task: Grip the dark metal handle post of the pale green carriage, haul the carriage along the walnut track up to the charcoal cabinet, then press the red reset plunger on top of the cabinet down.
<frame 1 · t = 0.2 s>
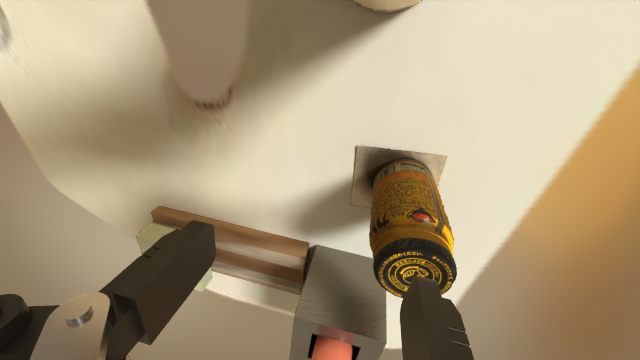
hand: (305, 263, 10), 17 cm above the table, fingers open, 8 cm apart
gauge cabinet: (344, 276, 35), on the table
reset plunger: (332, 352, 27), point 10 cm above the table, slide at 0.0 cm
condiment: (394, 180, 27), on the table
rail track: (233, 247, 37), on the table
carriage: (157, 279, 32), point 8 cm above the table, slide at 0.0 cm
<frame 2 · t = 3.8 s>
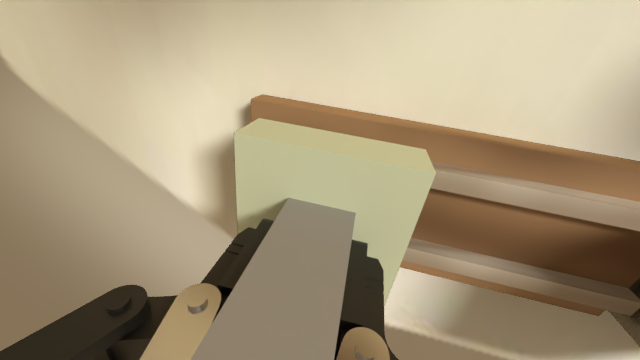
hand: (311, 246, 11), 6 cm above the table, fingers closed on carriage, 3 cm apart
rail track: (430, 199, 16), on the table
carriage: (305, 268, 10), point 8 cm above the table, slide at 0.0 cm, touching gripper
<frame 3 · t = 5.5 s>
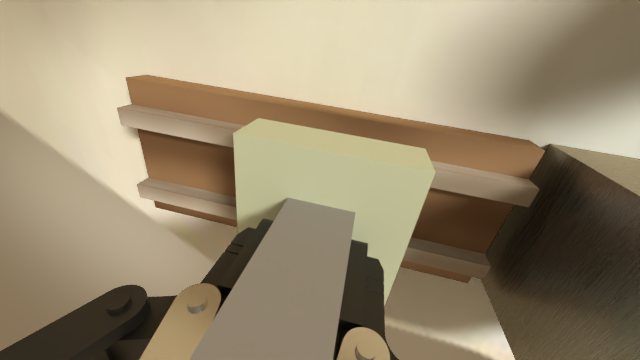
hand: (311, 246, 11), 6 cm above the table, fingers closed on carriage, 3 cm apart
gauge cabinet: (592, 232, 15), on the table
rail track: (311, 174, 17), on the table
carriage: (304, 268, 10), point 8 cm above the table, slide at 7.6 cm, touching gripper
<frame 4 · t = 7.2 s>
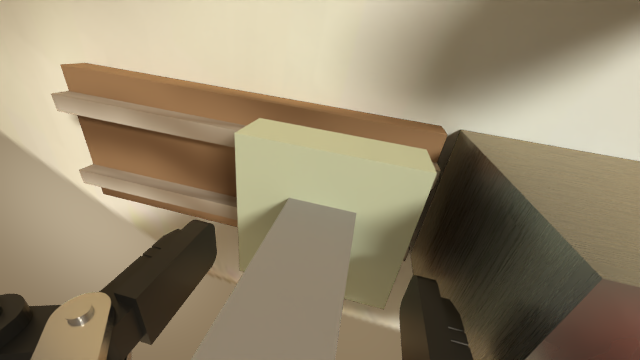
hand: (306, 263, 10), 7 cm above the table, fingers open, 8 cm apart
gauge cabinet: (510, 217, 15), on the table
rail track: (248, 161, 17), on the table
carriage: (305, 268, 10), point 8 cm above the table, slide at 12.0 cm
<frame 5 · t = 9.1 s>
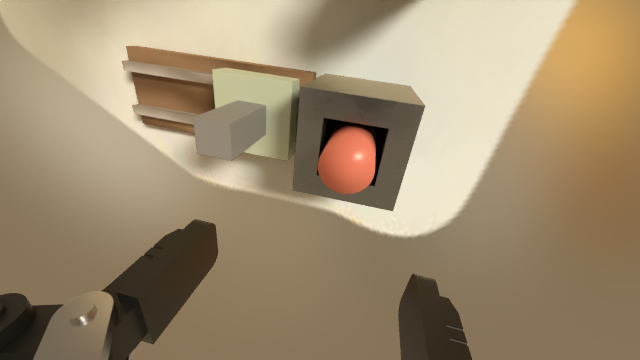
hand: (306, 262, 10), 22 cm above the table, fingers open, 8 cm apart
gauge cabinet: (359, 121, 29), on the table
reset plunger: (350, 153, 21), point 10 cm above the table, slide at 0.0 cm
rail track: (224, 99, 31), on the table
carriage: (241, 123, 24), point 8 cm above the table, slide at 12.0 cm
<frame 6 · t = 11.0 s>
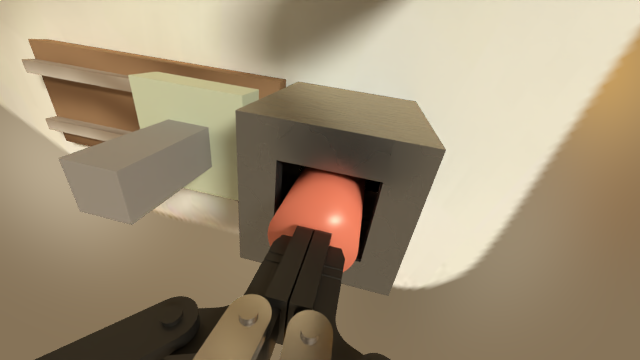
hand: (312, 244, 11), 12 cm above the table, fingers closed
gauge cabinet: (345, 146, 22), on the table
reset plunger: (324, 205, 14), point 9 cm above the table, slide at 0.9 cm, touching gripper
rail track: (168, 112, 24), on the table
carriage: (168, 155, 16), point 8 cm above the table, slide at 12.0 cm
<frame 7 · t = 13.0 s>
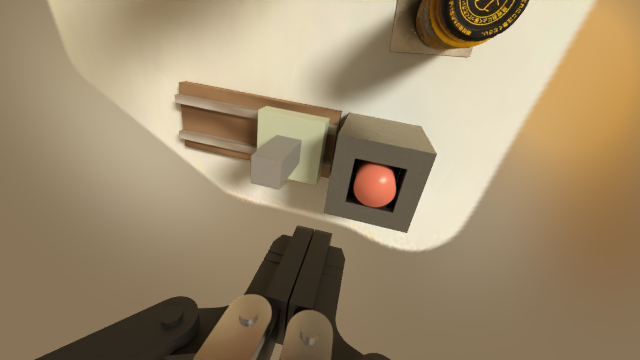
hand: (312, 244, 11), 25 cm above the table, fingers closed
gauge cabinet: (376, 152, 34), on the table
reset plunger: (375, 176, 28), point 8 cm above the table, slide at 2.4 cm
condiment: (437, 15, 27), on the table
rail track: (259, 128, 36), on the table
carriage: (282, 155, 29), point 8 cm above the table, slide at 12.0 cm
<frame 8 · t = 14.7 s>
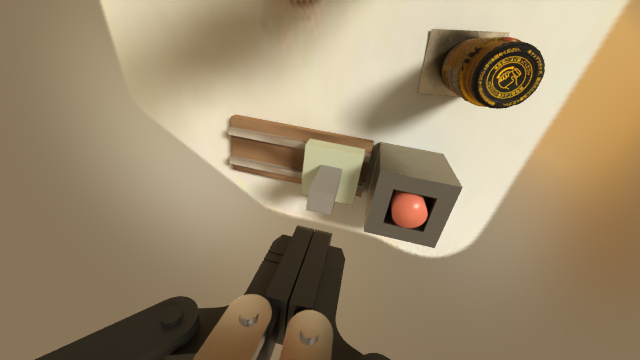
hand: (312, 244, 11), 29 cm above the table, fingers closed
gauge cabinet: (402, 175, 40), on the table
reset plunger: (407, 201, 33), point 8 cm above the table, slide at 2.4 cm
condiment: (459, 64, 32), on the table
rail track: (299, 154, 42), on the table
carriage: (327, 183, 34), point 8 cm above the table, slide at 12.0 cm
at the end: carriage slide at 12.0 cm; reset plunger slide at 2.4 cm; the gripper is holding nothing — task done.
